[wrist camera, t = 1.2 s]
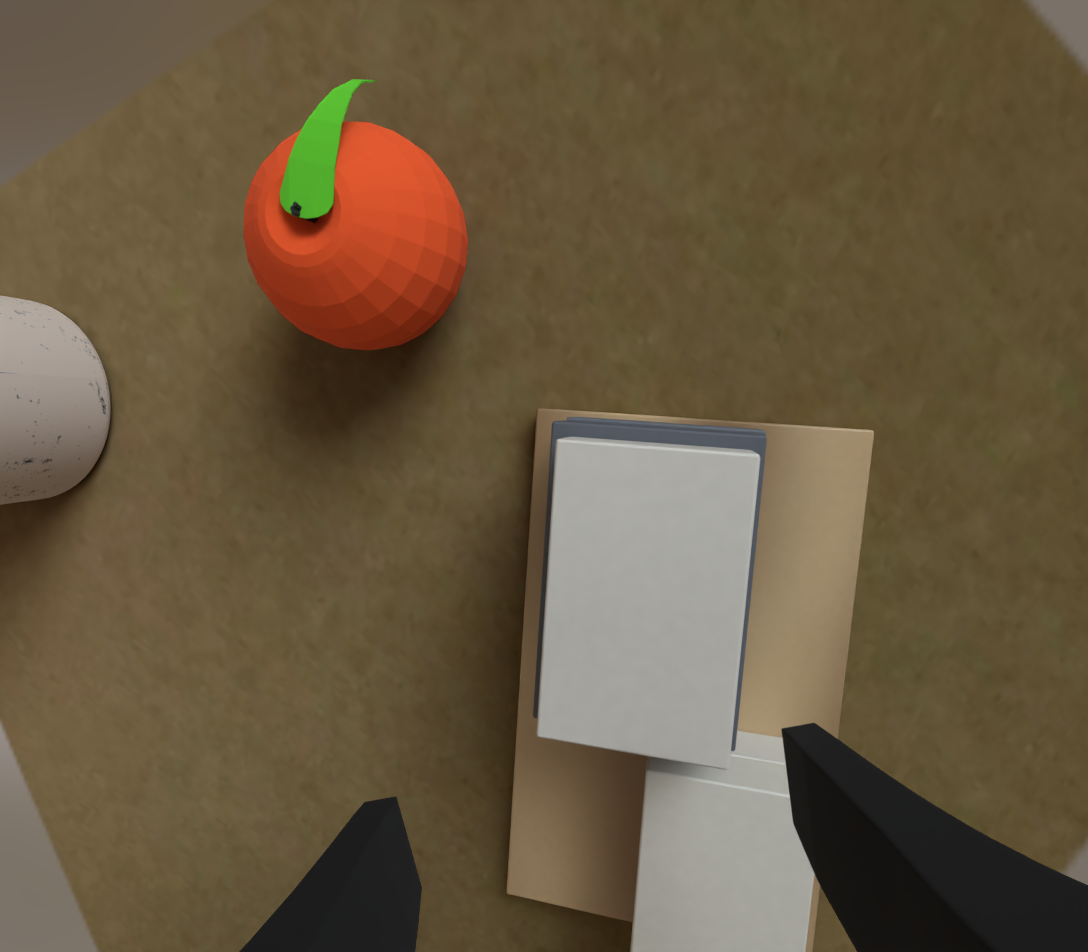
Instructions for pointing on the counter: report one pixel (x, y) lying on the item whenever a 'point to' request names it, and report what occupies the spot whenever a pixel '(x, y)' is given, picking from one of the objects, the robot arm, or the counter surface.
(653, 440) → the grey books
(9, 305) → the teacup with lid
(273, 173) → the clementine
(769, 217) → the counter surface
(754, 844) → the white books
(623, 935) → the counter surface
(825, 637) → the shelf board
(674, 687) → the white book
